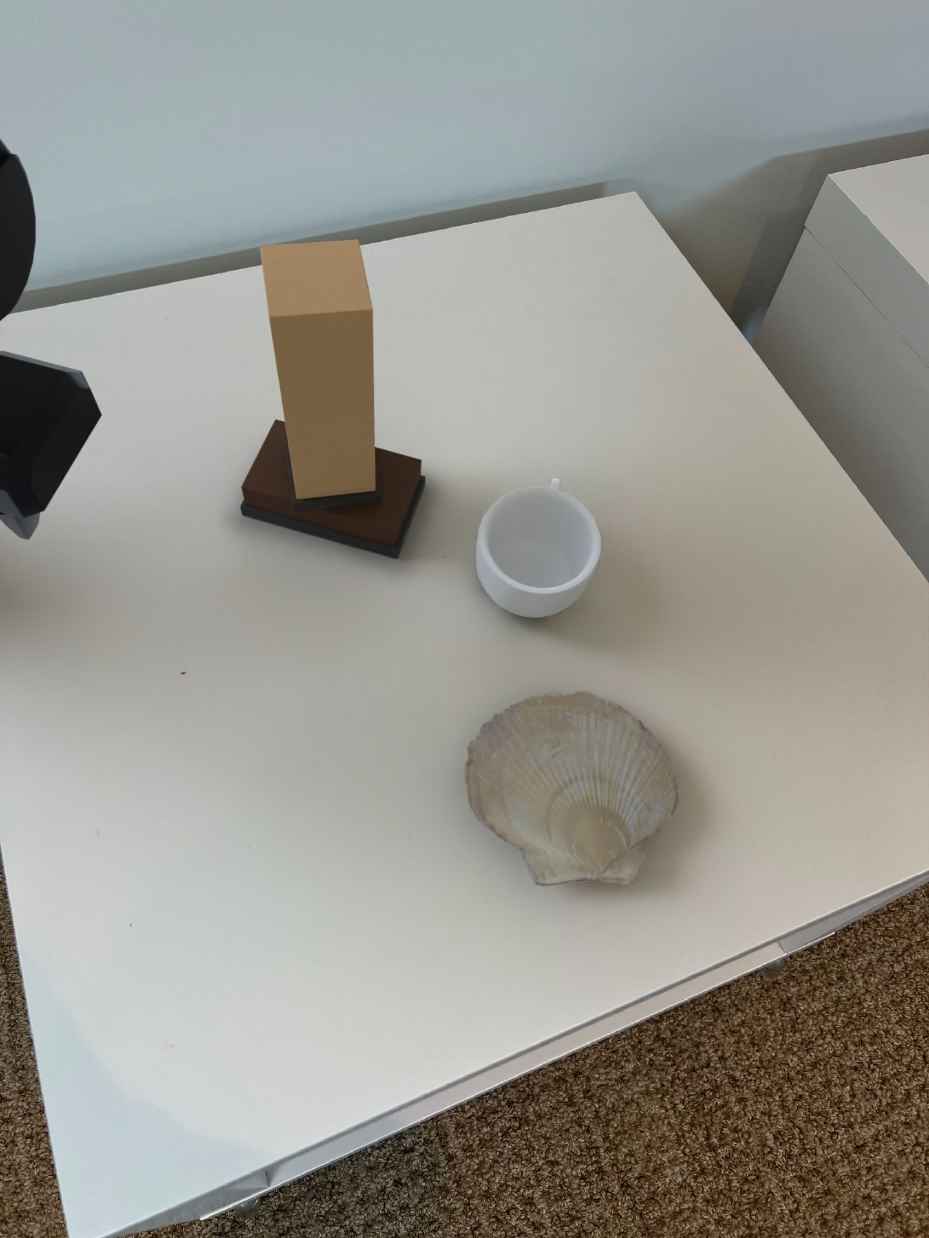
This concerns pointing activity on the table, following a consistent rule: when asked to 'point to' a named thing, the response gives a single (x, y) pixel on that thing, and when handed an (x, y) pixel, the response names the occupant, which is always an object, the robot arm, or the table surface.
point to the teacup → (537, 550)
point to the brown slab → (348, 525)
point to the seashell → (571, 786)
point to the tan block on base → (324, 370)
